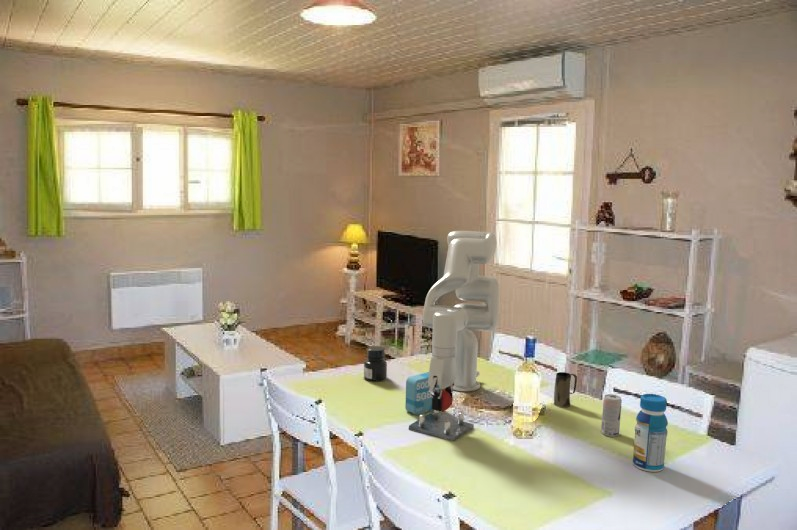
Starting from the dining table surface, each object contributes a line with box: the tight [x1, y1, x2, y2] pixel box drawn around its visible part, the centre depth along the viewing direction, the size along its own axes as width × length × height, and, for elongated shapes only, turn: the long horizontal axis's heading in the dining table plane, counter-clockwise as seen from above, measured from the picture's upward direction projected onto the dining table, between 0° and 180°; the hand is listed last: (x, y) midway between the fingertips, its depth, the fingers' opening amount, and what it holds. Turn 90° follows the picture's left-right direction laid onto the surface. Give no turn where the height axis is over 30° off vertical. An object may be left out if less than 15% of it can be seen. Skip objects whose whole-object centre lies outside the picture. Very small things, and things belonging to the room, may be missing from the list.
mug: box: [553, 371, 578, 409], centre depth 228 cm, size 8×6×12 cm
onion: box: [437, 389, 453, 413], centre depth 204 cm, size 6×6×8 cm
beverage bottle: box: [632, 393, 669, 473], centre depth 181 cm, size 8×8×20 cm
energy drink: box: [600, 393, 623, 438], centre depth 204 cm, size 5×5×12 cm
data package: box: [404, 371, 439, 415], centre depth 221 cm, size 12×4×12 cm, turn 130°
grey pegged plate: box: [408, 410, 475, 442], centre depth 205 cm, size 13×16×5 cm
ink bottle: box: [363, 345, 388, 382], centre depth 253 cm, size 10×9×12 cm
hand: (442, 406), depth 205 cm, fingers closed on onion, 5 cm apart
